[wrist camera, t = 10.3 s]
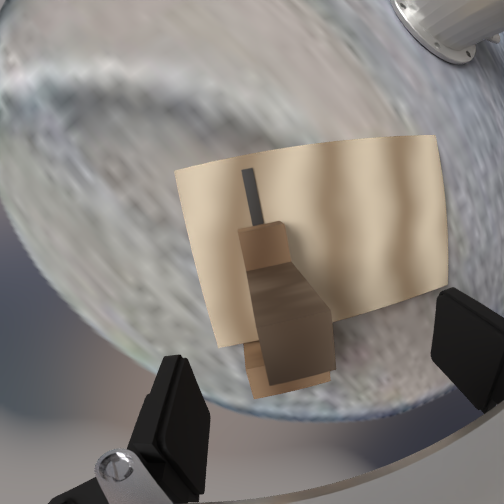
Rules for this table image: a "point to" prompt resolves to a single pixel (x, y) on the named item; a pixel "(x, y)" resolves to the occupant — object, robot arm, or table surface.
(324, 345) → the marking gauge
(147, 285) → the table surface
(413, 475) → the robot arm
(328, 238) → the birch board
